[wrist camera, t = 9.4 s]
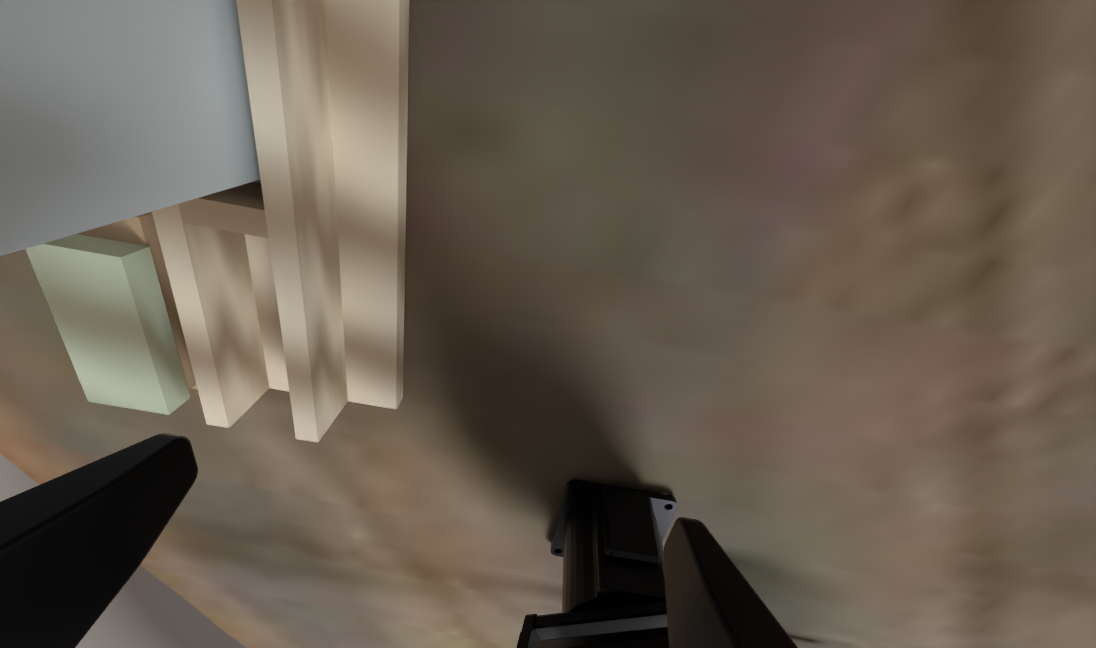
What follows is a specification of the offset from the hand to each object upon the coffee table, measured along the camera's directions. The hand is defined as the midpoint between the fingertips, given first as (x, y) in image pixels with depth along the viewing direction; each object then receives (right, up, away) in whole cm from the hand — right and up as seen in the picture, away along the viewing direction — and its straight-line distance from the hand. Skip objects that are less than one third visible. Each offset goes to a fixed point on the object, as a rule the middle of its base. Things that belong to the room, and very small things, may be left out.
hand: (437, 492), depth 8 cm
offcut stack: (-15, +5, +12) cm, 20 cm away
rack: (-11, +9, +11) cm, 18 cm away
